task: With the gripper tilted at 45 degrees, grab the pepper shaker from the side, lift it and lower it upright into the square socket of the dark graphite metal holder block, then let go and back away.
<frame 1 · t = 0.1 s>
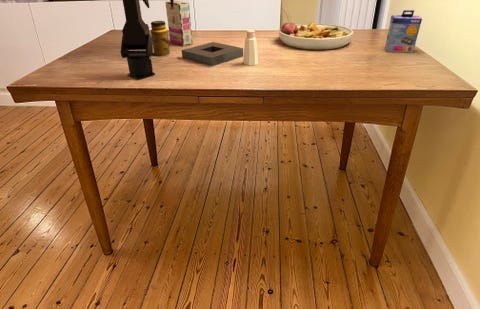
hand: (160, 7, 129), 15 cm above the table, tool pointing down, fingers open, 9 cm apart
ink cartridge box: (398, 51, 127), on the table
pepper shaker: (250, 63, 117), on the table
holder block: (212, 57, 124), on the table
candy bar box: (181, 43, 144), on the table
condiment: (160, 55, 129), on the table
bowl: (314, 43, 141), on the table
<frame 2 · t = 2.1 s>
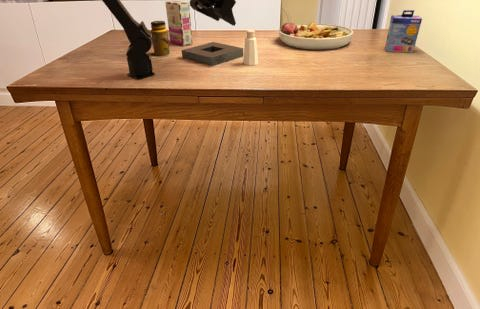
hand: (226, 22, 110), 14 cm above the table, tool tilted 40°, fingers open, 9 cm apart
nothing on the table moved.
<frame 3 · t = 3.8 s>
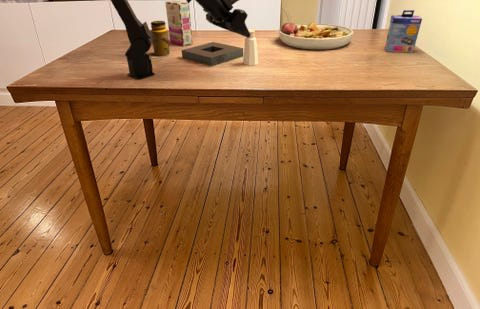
hand: (242, 33, 110), 10 cm above the table, tool tilted 45°, fingers open, 9 cm apart
nothing on the table moved.
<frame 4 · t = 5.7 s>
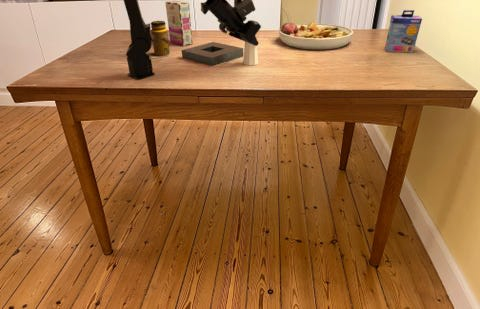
hand: (254, 43, 114), 7 cm above the table, tool tilted 45°, fingers closed on pepper shaker, 4 cm apart
pepper shaker: (250, 63, 117), on the table, touching gripper
everything else where it was.
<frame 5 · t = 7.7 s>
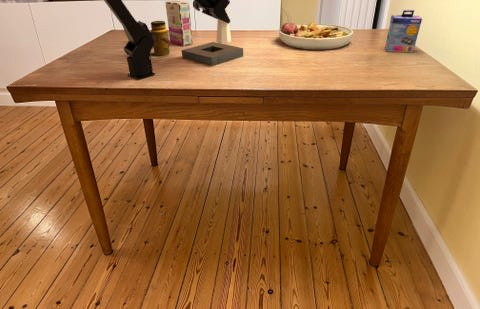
hand: (226, 21, 115), 13 cm above the table, tool tilted 45°, fingers closed on pepper shaker, 4 cm apart
pepper shaker: (223, 42, 118), point 6 cm above the table, touching gripper
everything else where it was.
when the fingers open (8 cm above the table, at t = 10.2 s): pepper shaker drops 1 cm, resting in holder block.
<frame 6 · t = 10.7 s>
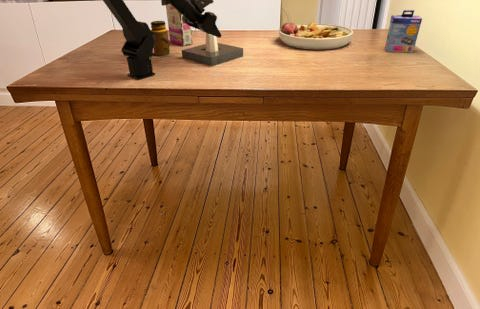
hand: (214, 34, 120), 8 cm above the table, tool tilted 45°, fingers open, 9 cm apart
pepper shaker: (212, 58, 124), resting in holder block
everything else where it was.
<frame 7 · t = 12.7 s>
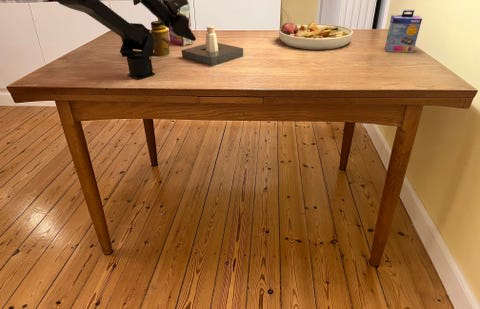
hand: (190, 36, 116), 8 cm above the table, tool tilted 45°, fingers open, 9 cm apart
nothing on the table moved.
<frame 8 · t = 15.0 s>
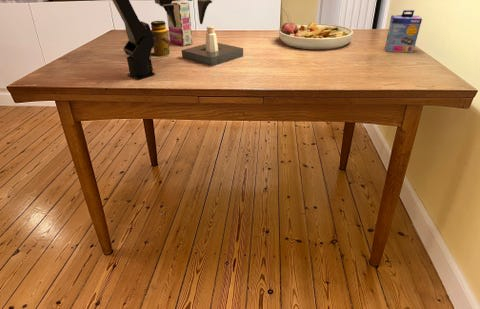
hand: (188, 25, 110), 13 cm above the table, tool pointing down, fingers open, 9 cm apart
nothing on the table moved.
at the end: pepper shaker 0.2 cm off-centre on the holder block, point 0.0 cm above the holder block's base; pepper shaker tilted 0°; the gripper is holding nothing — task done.
